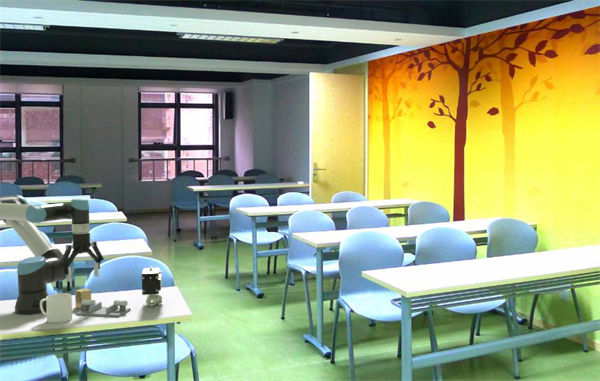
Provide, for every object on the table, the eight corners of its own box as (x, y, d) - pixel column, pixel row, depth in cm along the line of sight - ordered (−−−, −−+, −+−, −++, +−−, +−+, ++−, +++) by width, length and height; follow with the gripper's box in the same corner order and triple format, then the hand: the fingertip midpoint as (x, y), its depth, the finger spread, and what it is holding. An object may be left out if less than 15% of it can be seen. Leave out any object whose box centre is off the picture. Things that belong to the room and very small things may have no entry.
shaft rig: (76, 315, 258) (75, 302, 257) (89, 308, 269) (89, 296, 268) (118, 317, 254) (118, 304, 254) (130, 310, 265) (130, 298, 264)
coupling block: (75, 307, 271) (75, 290, 270) (85, 305, 274) (85, 288, 274) (81, 309, 267) (80, 291, 267) (91, 307, 271) (90, 289, 270)
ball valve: (161, 309, 266) (160, 270, 265) (142, 310, 264) (141, 271, 263) (163, 299, 284) (162, 262, 282) (145, 300, 282) (144, 263, 281)
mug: (70, 315, 258) (69, 292, 257) (74, 321, 249) (73, 297, 248) (39, 319, 252) (38, 295, 251) (41, 325, 243) (40, 301, 242)
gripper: (58, 236, 256) (60, 284, 258) (110, 230, 275) (111, 275, 277) (50, 235, 261) (52, 282, 263) (101, 229, 280) (103, 273, 282)
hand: (82, 278), depth 270 cm, fingers open, 13 cm apart
